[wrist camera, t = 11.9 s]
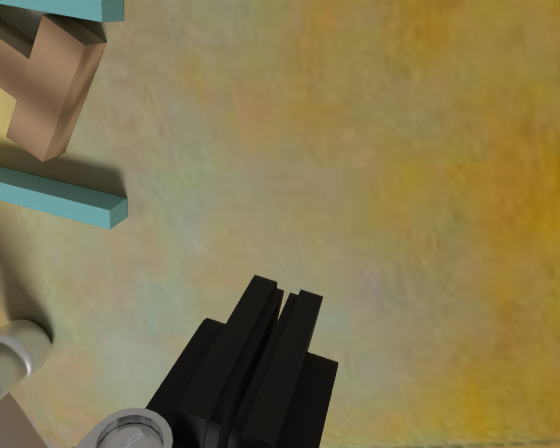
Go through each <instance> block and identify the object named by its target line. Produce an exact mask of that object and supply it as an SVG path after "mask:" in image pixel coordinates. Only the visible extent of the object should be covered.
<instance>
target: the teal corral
mask: <svg viewBox="0 0 560 448" xmlns="http://www.w3.org/2000/svg"><path fill="white" fill-rule="evenodd" d="M0 4H4V5H10V6H15V7H21V8H26V9H32V10H37V11H43V12H48V13H54V14H59V15H65V16H71V17H76V18H82V19H87V20H93V21H98V22H114V21H124V0H0ZM0 201H4V202H8V203H12V204H16V205H19V206H23V207H27V208H31V209H34V210H38V211H42V212H46V213H50V214H53V215H57V216H61V217H65V218H69V219H72V220H76V221H80V222H84V223H87V224H91V225H95V226H99V227H103V228H106V229H112V228H113V227H114V226H116V225H117V224H118V223H120V222H121V221H122V220H124V219H125V218H126V217H128V211H127V198H123V197H119V196H115V195H112V194H108V193H104V192H100V191H96V190H92V189H88V188H84V187H80V186H76V185H72V184H68V183H64V182H60V181H56V180H52V179H48V178H44V177H40V176H36V175H32V174H28V173H24V172H20V171H16V170H12V169H8V168H4V167H0Z"/></svg>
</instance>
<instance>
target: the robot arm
mask: <svg viewBox="0 0 560 448" xmlns="http://www.w3.org/2000/svg"><path fill="white" fill-rule="evenodd" d="M283 294H284V290H281V289H278V288H277V282H276V281H273V280H270V279H267V278H263V277H260V276H257V275H255V276H254V277H253V278H252V280H251V282H250V284H249V285H248V287H247V289H246V290H245V292H244V294H243V295H242V297H241V299H240V301H239V302H238V304H237V306H236V307H235V309H234V311H233V313H232V314H231V316H230V318H229V319H228V321H227V323H226V324H224V323H221V322H218V321H215V320H212V319H209V318H206V319H205V320H204V321H203V322H202V323H201V325H200V326H199V328H198V329H197V331H196V332H195V334H194V335H193V337H192V338H191V340H190V341H189V343H188V344H187V346H186V347H185V349H184V350H183V352H182V353H181V355H180V357H179V358H178V360H177V361H176V363H175V364H174V366H173V367H172V369H171V370H170V372H169V373H168V375H167V376H166V378H165V379H164V381H163V382H162V384H161V385H160V387H159V388H158V390H157V391H156V393H155V394H154V396H153V397H152V399H151V400H150V402H149V404H148V405H147V407H146V408H129V409H123V410H119V411H117V412H115V413H113V414H111V415H108V416H107V417H106V418H105V419H103V420H102V421H101V422H100V423H98V424H97V425H96V426H95V427H94V428H93V429H92V430H91V431H90V432H89V433H88V434H87V436H86V437H85V438H84V439H83V440H82V441H81V442H80V443H79V444H78V445H77V446H76V447H74V448H319V445H320V441H321V436H322V432H323V428H324V424H325V419H326V415H327V411H328V406H329V402H330V398H331V394H332V389H333V385H334V381H335V377H336V372H337V368H338V362H336V361H333V360H330V359H327V358H324V357H321V356H318V355H315V354H312V353H309V352H308V349H309V345H310V341H311V338H312V334H313V331H314V327H315V324H316V320H317V317H318V313H319V310H320V306H321V303H322V299H323V296H320V295H317V294H314V293H310V292H307V291H304V290H300V293H299V295H296V294H293V293H290V294H289V297H288V299H287V301H286V303H285V306H284V308H283V310H282V312H281V315H280V317H279V319H278V316H279V312H280V307H281V303H282V298H283ZM277 321H278V322H277Z"/></svg>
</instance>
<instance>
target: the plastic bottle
mask: <svg viewBox="0 0 560 448" xmlns="http://www.w3.org/2000/svg"><path fill="white" fill-rule="evenodd" d="M50 351H51V342H50V339H49V337H48V335H47V334H46V333H45V331H44V330H43V329H42V328H41V327H40V326H38V325H37V324H35V323H34V322H31V321H29V320H14V321H11V322H10V323H8V324H6V325H4V326H2V327H1V328H0V399H1V398H2V397H3V396H5V395H6V394H7V393H8V392H9V391H11V390H12V389H13V388H14V387H15V386H17V385H18V384H19V383H20V382H21V381H23V380H24V379H26V378H28V377H29V376H31V375H32V374H34V373H35V372H36V371H37V370H39V369H40V368H41V367H42V366H43V365H44V363H45V362H46V360H47V359H48V357H49V356H50Z"/></svg>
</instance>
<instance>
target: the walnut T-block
mask: <svg viewBox="0 0 560 448" xmlns="http://www.w3.org/2000/svg"><path fill="white" fill-rule="evenodd" d="M106 44H107V42H105V41H104V40H103V39H101V38H100V37H99V36H97V35H96V34H94V33H93V32H92V31H90V30H89V29H87V28H86V27H85V26H83V25H82V24H81V23H79V22H78V21H76V20H75V19H74V18H72V17H71V16H65V15H59V14H54V15H42V18H41V22H40V25H39V28H38V32H37V35H36V38H35V42H34V41H32V40H31V39H30V38H28V37H27V36H25V35H24V34H23V33H21V32H20V31H19V30H17V29H16V28H14V27H13V26H12V25H10V24H9V23H7V22H6V21H5V20H3V19H2V18H0V88H1V89H3V90H4V91H6V92H7V93H8V94H10V95H11V96H13V97H14V98H15V99H17V102H16V105H15V108H14V112H13V115H12V118H11V122H10V125H9V128H8V132H7V135H6V137H8V138H9V139H11V140H12V141H14V142H15V143H16V144H18V145H19V146H21V147H22V148H23V149H25V150H26V151H28V152H29V153H31V154H32V155H33V156H35V157H36V158H38V159H39V160H40V161H42V162H45V161H47V160H49V159H52V158H54V157H56V156H59V155H61V154H63V153H65V150H66V148H67V145H68V143H69V140H70V138H71V135H72V132H73V130H74V127H75V125H76V122H77V119H78V117H79V114H80V112H81V109H82V106H83V104H84V101H85V99H86V96H87V93H88V91H89V88H90V86H91V83H92V80H93V78H94V75H95V73H96V70H97V68H98V65H99V62H100V60H101V57H102V55H103V52H104V49H105V47H106Z"/></svg>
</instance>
